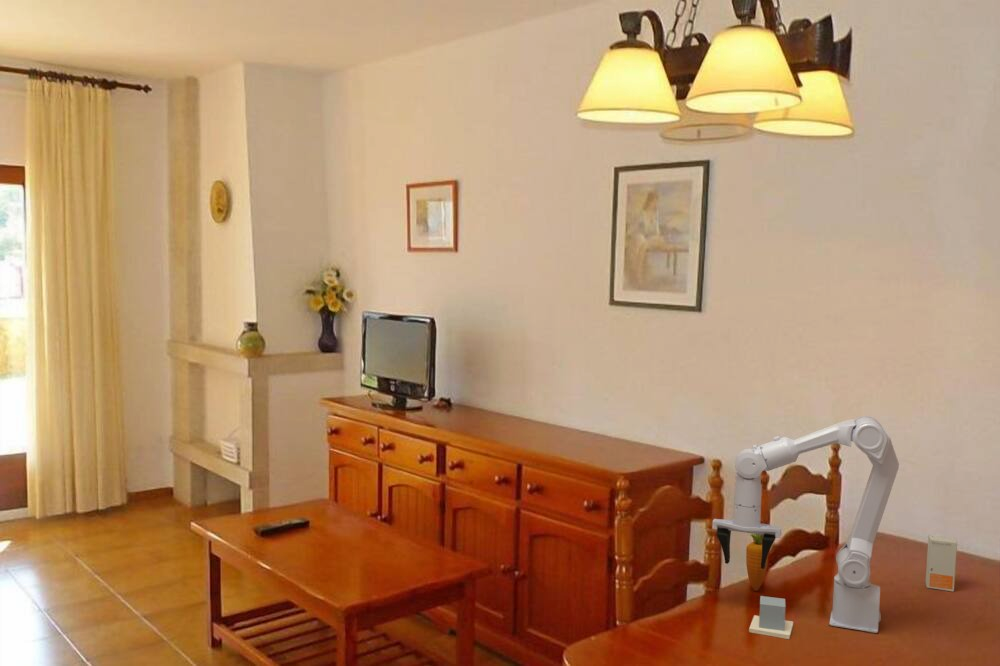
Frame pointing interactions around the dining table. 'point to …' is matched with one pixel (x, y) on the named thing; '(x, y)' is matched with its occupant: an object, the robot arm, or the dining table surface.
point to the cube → (772, 613)
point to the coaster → (770, 632)
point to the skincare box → (941, 563)
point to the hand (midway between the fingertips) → (745, 564)
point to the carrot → (755, 562)
